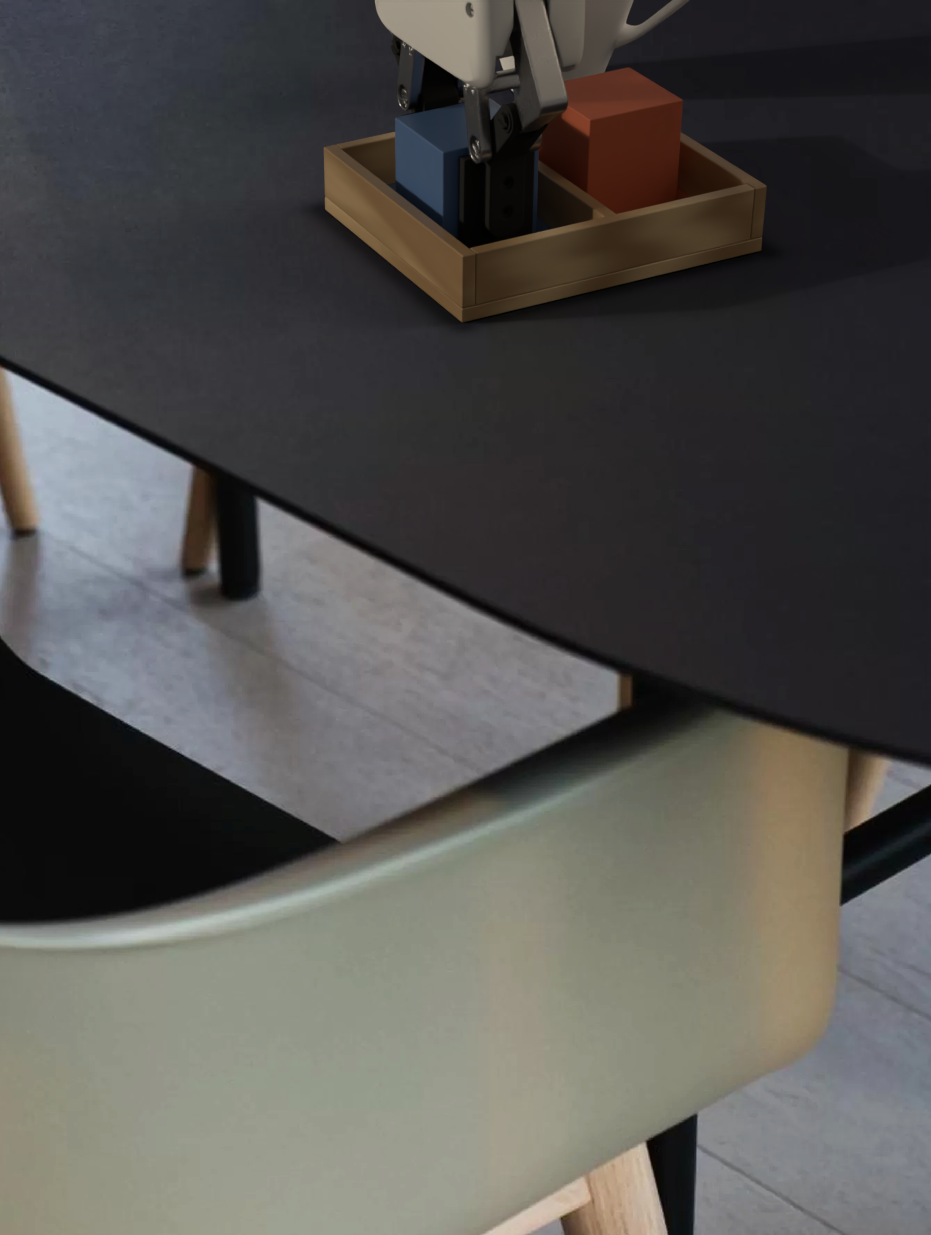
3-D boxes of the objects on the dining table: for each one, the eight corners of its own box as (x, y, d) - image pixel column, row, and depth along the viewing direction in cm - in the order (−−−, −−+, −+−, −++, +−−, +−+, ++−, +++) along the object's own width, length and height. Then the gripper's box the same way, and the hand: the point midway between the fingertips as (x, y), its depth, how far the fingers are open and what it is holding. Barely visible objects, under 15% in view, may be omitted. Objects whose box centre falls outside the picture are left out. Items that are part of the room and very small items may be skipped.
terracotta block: (535, 188, 108) (538, 86, 105) (623, 168, 109) (629, 66, 106) (585, 224, 105) (590, 120, 102) (676, 203, 106) (683, 99, 103)
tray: (604, 147, 113) (607, 85, 111) (761, 251, 104) (767, 185, 102) (324, 209, 109) (322, 146, 108) (461, 323, 100) (462, 256, 98)
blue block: (395, 220, 106) (394, 117, 103) (487, 198, 107) (489, 96, 105) (442, 257, 103) (443, 152, 100) (536, 235, 104) (539, 131, 101)
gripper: (677, -212, 88) (646, 280, 100) (458, -310, 100) (453, 140, 112) (489, -179, 86) (480, 320, 98) (287, -283, 98) (301, 173, 110)
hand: (466, 219), depth 105 cm, fingers closed on blue block, 4 cm apart
